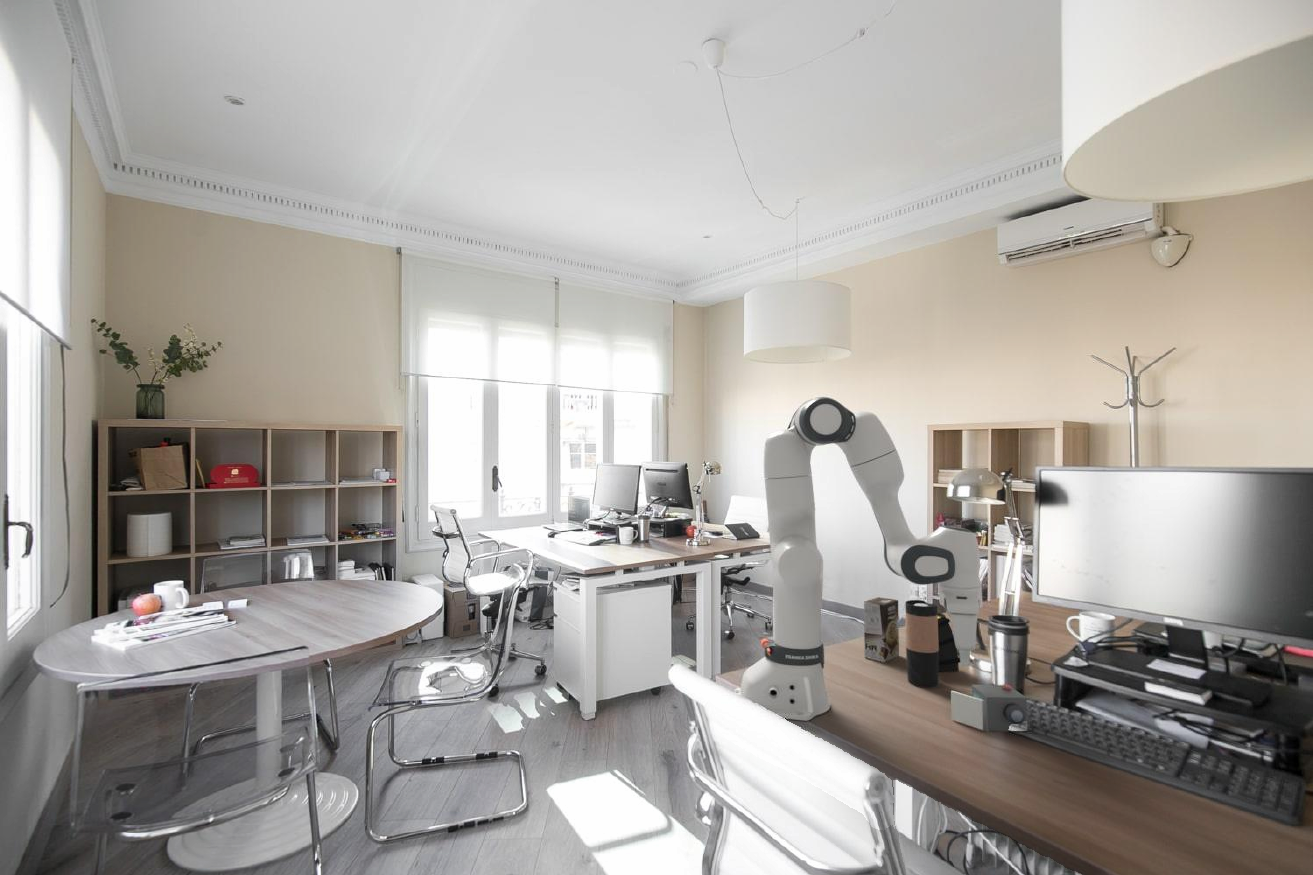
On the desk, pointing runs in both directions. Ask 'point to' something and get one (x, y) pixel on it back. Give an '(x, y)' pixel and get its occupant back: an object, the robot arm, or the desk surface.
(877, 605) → the coffee box
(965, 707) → the side door
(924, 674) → the travel mug
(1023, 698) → the camera block
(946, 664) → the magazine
